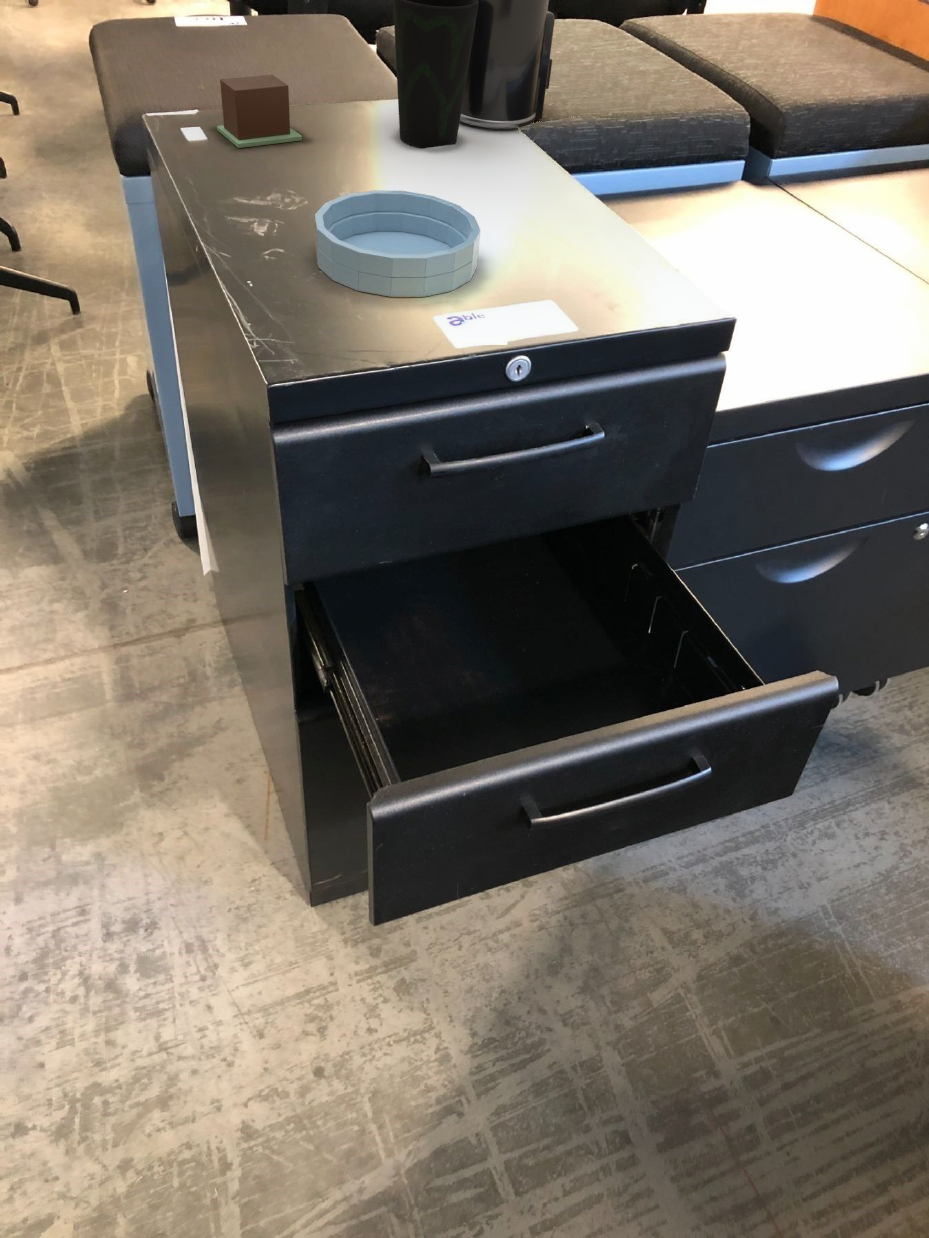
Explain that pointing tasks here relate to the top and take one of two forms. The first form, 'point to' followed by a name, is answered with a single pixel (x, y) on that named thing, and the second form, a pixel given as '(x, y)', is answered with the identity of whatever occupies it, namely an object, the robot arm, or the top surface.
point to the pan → (396, 243)
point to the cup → (432, 67)
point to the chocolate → (255, 106)
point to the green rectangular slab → (260, 141)
